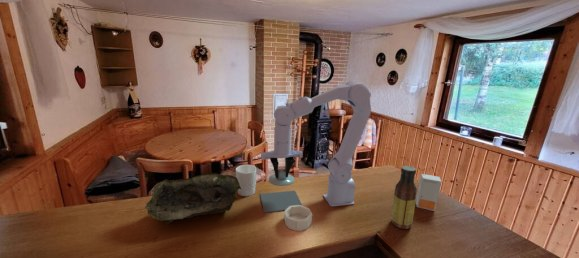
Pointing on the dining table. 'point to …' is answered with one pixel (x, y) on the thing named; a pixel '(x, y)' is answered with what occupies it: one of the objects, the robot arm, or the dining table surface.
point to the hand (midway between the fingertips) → (281, 176)
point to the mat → (279, 201)
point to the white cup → (246, 179)
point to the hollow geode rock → (193, 197)
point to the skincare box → (428, 192)
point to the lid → (281, 178)
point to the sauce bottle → (404, 199)
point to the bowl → (298, 217)
